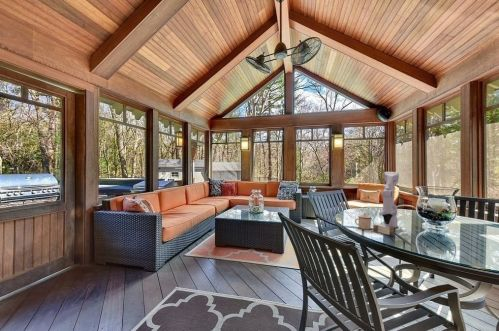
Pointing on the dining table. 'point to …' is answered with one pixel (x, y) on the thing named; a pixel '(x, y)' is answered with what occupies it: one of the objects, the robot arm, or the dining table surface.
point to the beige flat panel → (383, 229)
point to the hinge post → (391, 230)
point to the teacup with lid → (364, 221)
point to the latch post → (375, 228)
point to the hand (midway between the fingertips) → (387, 223)
